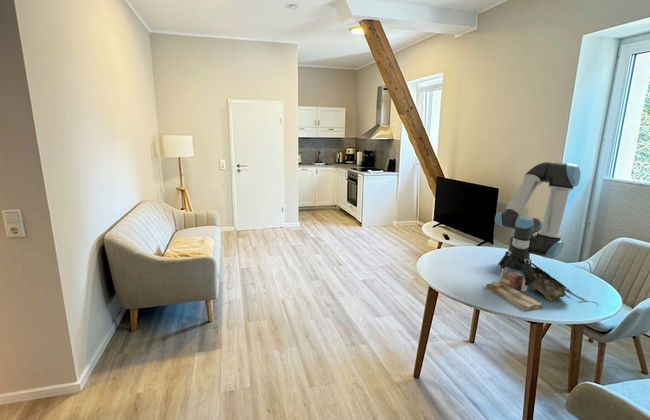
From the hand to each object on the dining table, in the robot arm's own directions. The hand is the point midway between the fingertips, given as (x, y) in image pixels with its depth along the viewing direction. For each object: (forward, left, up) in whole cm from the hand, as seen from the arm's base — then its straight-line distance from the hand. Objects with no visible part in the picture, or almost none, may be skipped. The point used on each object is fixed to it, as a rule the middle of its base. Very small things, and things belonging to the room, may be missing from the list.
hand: (512, 284), depth 178 cm
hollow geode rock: (-14, +6, -2) cm, 16 cm away
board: (+8, +8, -2) cm, 12 cm away
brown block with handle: (+5, 0, -2) cm, 5 cm away
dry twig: (-26, +13, -3) cm, 29 cm away
